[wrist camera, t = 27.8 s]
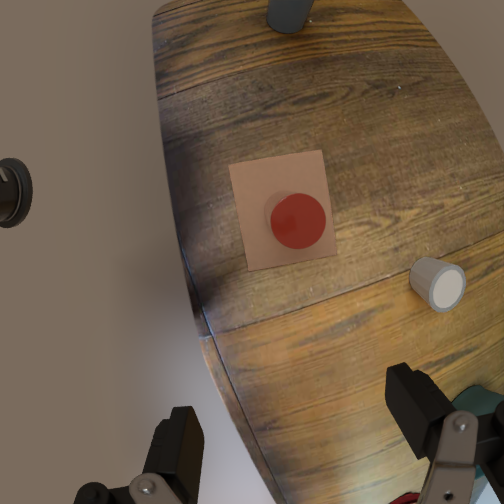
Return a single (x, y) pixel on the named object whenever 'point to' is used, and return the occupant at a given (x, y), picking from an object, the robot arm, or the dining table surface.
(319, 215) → the glossy red cylinder
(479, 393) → the flower pot
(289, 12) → the grey upright cylinder
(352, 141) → the dining table surface
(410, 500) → the plate with food
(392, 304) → the dining table surface
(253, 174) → the terracotta mat
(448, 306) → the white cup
